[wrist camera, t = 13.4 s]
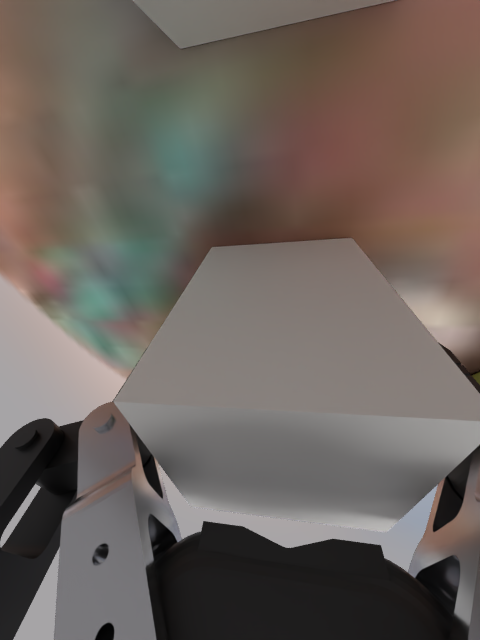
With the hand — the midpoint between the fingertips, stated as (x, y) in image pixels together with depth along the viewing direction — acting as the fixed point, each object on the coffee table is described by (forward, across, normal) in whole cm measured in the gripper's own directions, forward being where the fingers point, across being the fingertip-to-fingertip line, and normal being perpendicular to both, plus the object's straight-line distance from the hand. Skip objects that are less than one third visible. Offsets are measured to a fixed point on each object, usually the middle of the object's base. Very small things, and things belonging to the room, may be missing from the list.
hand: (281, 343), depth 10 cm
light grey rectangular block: (+3, 0, 0) cm, 3 cm away
